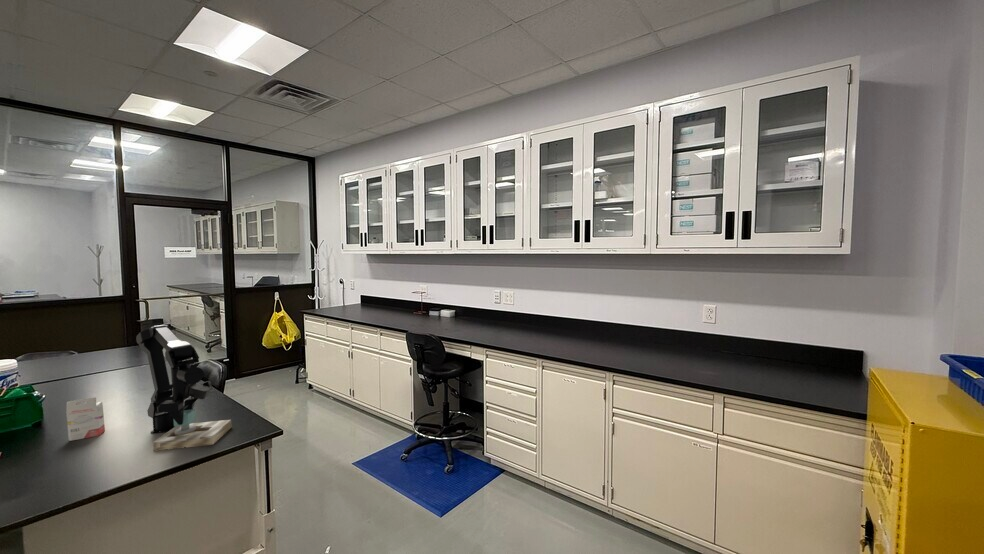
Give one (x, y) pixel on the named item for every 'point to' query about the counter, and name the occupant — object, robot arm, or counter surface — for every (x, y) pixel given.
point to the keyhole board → (195, 442)
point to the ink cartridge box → (84, 419)
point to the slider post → (186, 423)
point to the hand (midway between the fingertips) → (184, 421)
